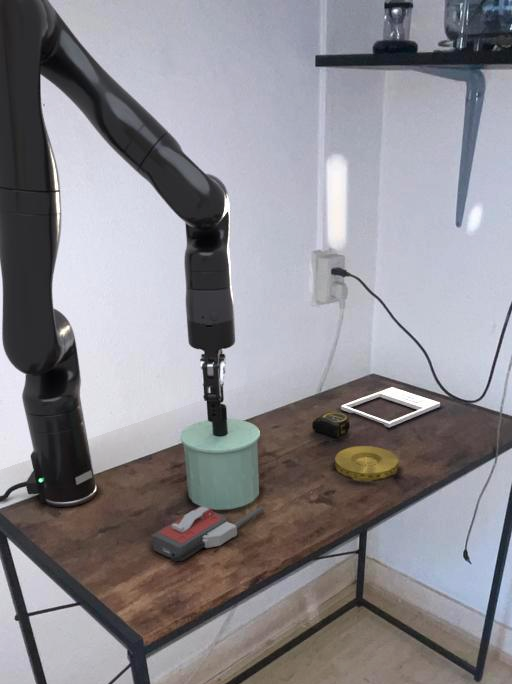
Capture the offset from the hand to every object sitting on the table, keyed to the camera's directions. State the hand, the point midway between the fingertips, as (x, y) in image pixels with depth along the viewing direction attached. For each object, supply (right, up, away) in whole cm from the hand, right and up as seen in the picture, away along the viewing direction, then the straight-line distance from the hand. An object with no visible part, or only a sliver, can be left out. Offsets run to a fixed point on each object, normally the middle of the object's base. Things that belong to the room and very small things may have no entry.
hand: (216, 411), depth 117 cm
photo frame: (+36, +7, +43) cm, 57 cm away
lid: (+1, -4, +2) cm, 5 cm away
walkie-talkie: (-1, -21, -4) cm, 21 cm away
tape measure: (+22, -1, +31) cm, 37 cm away
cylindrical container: (+1, -14, +8) cm, 16 cm away
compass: (+27, -9, +16) cm, 33 cm away
